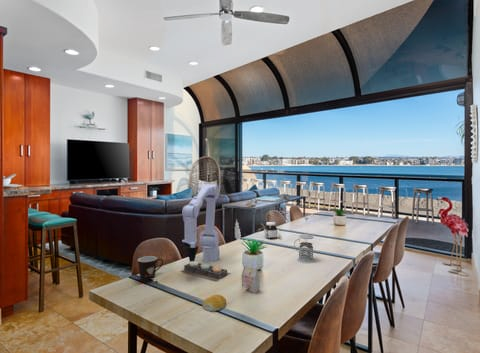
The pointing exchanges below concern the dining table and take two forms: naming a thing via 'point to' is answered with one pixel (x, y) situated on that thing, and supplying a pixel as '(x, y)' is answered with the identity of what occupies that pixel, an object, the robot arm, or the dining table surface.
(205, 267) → the sage button
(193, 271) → the button panel
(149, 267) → the coffee mug
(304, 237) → the french press
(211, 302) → the bread roll
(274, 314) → the dining table surface
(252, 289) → the tea bag
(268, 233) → the spread jar
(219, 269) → the terracotta button
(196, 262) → the cream button
